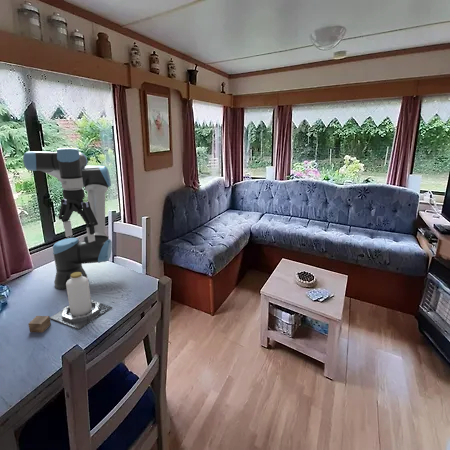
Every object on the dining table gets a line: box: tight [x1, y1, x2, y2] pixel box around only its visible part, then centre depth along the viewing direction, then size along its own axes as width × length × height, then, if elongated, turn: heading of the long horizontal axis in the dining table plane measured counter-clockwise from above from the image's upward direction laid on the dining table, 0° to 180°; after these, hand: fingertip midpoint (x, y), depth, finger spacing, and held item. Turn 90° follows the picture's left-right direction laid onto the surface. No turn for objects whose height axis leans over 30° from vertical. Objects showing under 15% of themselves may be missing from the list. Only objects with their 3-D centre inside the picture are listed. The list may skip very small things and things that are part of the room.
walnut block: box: [27, 315, 51, 333], centre depth 108 cm, size 5×5×4 cm
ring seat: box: [49, 299, 113, 331], centre depth 118 cm, size 17×17×2 cm
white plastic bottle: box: [66, 272, 92, 316], centre depth 116 cm, size 8×8×18 cm
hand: (80, 238), depth 115 cm, fingers open, 13 cm apart
